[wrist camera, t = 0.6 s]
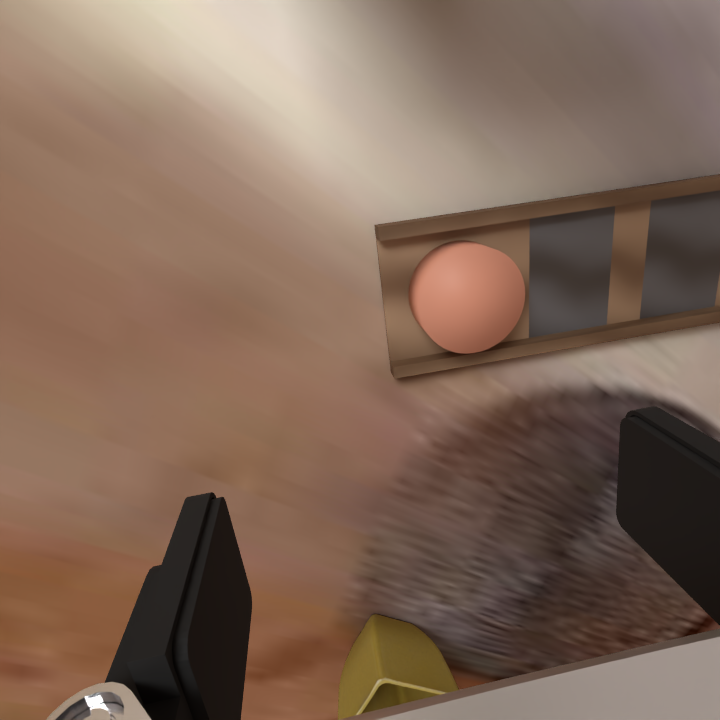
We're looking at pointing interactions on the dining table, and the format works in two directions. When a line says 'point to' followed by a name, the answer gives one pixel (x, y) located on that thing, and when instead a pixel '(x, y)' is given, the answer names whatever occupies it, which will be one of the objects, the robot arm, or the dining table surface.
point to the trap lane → (570, 269)
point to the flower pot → (391, 668)
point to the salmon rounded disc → (466, 296)
